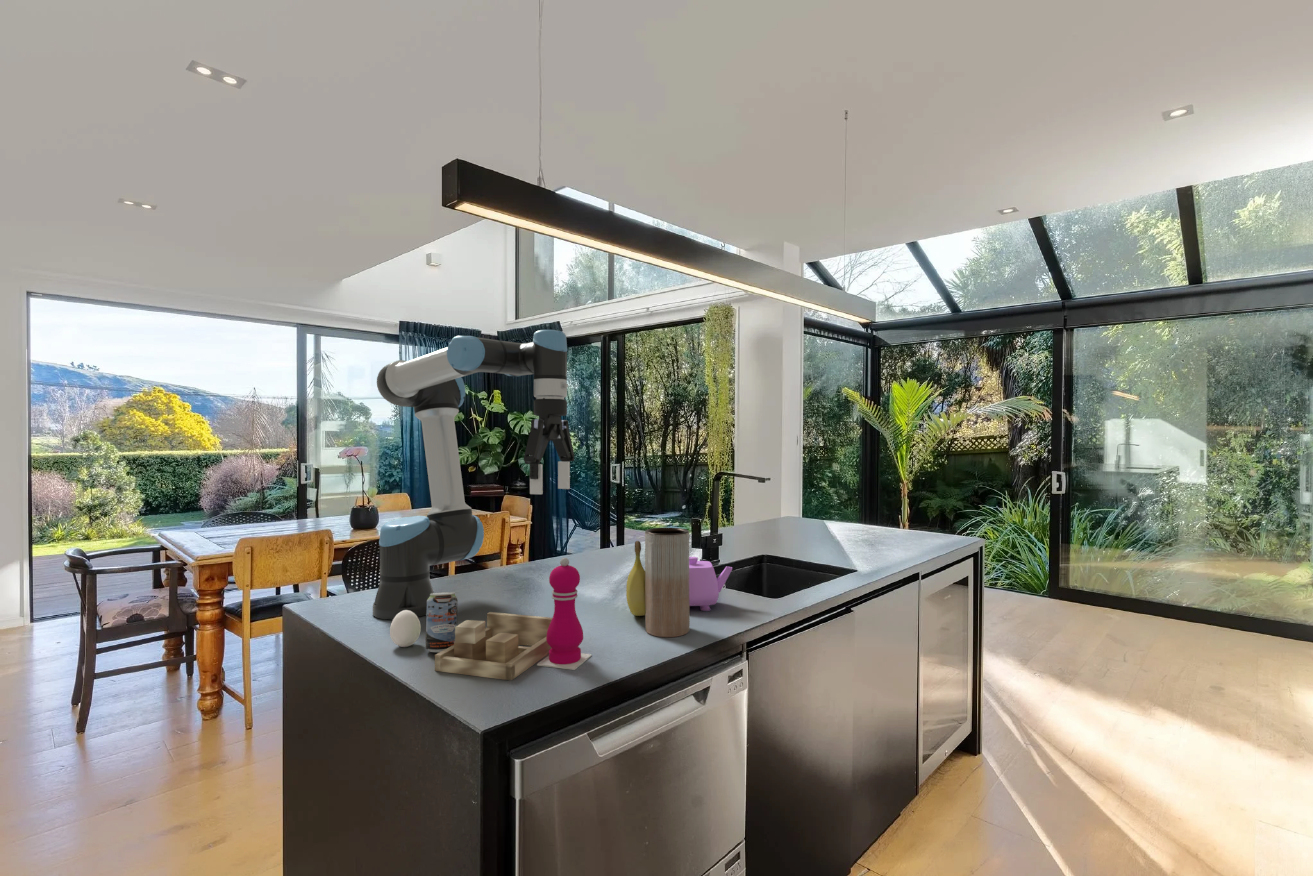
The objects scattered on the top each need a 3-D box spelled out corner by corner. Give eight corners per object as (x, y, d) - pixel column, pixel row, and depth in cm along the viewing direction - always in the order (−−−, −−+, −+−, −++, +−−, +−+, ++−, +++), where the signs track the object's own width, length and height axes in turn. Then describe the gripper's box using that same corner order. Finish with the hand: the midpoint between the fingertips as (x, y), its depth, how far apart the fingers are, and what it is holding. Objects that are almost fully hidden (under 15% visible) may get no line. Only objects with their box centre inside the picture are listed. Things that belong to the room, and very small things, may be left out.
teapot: (655, 613, 158) (655, 562, 158) (655, 600, 170) (654, 553, 170) (735, 612, 158) (735, 561, 158) (729, 599, 170) (729, 552, 170)
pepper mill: (551, 652, 129) (551, 553, 129) (586, 653, 128) (586, 554, 128) (542, 664, 122) (541, 561, 122) (578, 666, 121) (578, 561, 121)
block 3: (486, 672, 119) (485, 640, 119) (500, 663, 124) (500, 632, 124) (504, 674, 118) (504, 642, 118) (518, 665, 123) (518, 634, 123)
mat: (536, 665, 122) (536, 664, 122) (555, 651, 130) (555, 650, 130) (574, 670, 120) (574, 668, 120) (591, 655, 128) (591, 654, 128)
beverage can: (424, 658, 127) (424, 598, 127) (426, 646, 134) (426, 589, 134) (457, 654, 129) (457, 595, 128) (458, 643, 136) (457, 587, 136)
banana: (631, 602, 168) (631, 527, 167) (653, 602, 167) (653, 527, 167) (624, 629, 145) (624, 541, 145) (650, 629, 145) (649, 541, 145)
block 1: (455, 642, 121) (455, 627, 121) (466, 635, 125) (466, 620, 125) (474, 643, 120) (474, 628, 120) (485, 636, 125) (485, 621, 125)
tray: (434, 670, 120) (434, 639, 120) (490, 639, 138) (490, 612, 138) (511, 680, 115) (511, 647, 115) (558, 646, 133) (558, 618, 133)
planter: (672, 640, 137) (672, 535, 136) (636, 632, 143) (635, 531, 142) (698, 629, 145) (697, 529, 144) (662, 621, 151) (662, 526, 150)
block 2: (454, 668, 121) (454, 642, 121) (469, 659, 126) (469, 634, 126) (472, 670, 120) (472, 644, 120) (486, 661, 125) (486, 636, 125)
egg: (387, 644, 135) (387, 609, 135) (417, 639, 138) (417, 605, 138) (392, 653, 130) (392, 616, 130) (423, 647, 133) (423, 611, 133)
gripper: (538, 395, 132) (539, 497, 132) (587, 400, 156) (588, 487, 156) (507, 396, 134) (507, 496, 134) (560, 401, 158) (560, 486, 158)
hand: (550, 491), depth 145 cm, fingers open, 13 cm apart
